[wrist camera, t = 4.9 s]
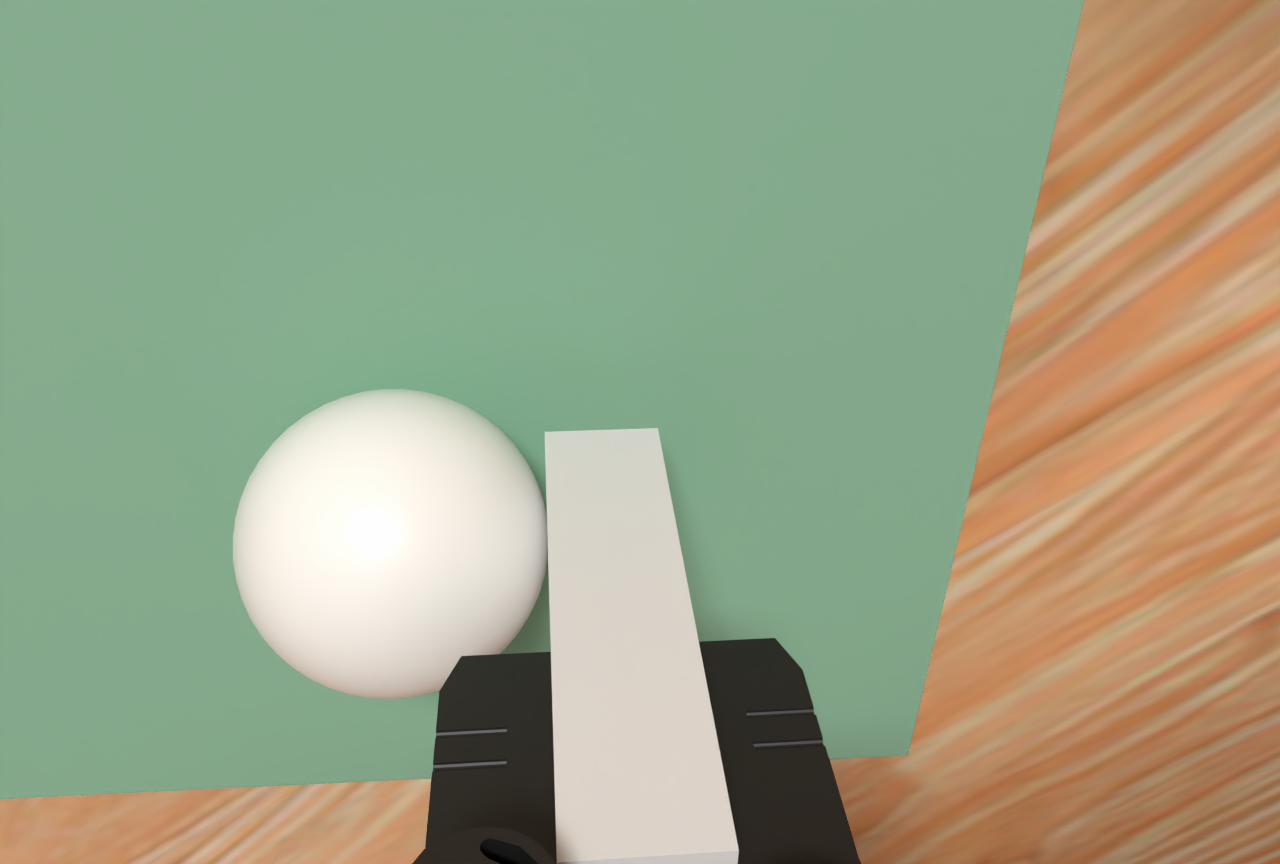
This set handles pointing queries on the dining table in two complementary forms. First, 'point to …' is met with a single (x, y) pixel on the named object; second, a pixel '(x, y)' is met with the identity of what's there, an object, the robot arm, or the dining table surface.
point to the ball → (389, 542)
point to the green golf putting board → (492, 324)
